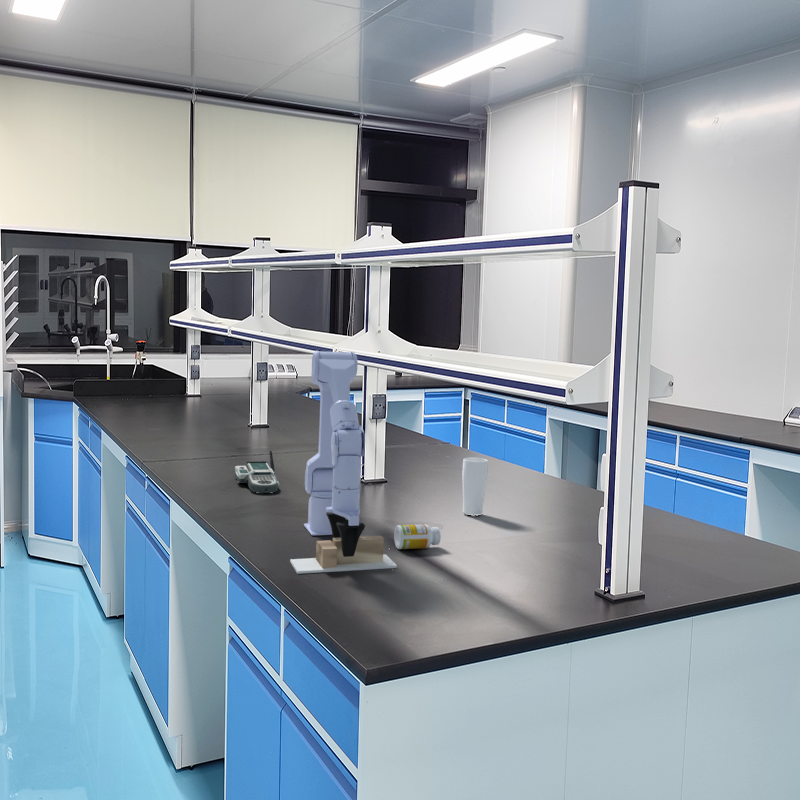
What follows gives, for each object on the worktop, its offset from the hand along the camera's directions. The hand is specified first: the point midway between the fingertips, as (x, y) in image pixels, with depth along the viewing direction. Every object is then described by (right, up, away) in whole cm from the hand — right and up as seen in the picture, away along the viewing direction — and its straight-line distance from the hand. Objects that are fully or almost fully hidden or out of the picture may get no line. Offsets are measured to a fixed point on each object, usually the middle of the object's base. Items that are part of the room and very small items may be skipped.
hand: (343, 550), depth 169 cm
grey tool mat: (0, -3, 0) cm, 3 cm away
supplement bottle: (+11, +1, +13) cm, 17 cm away
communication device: (-31, +5, +72) cm, 79 cm away
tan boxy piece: (+1, -3, +1) cm, 3 cm away
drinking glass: (+31, 0, +49) cm, 58 cm away
